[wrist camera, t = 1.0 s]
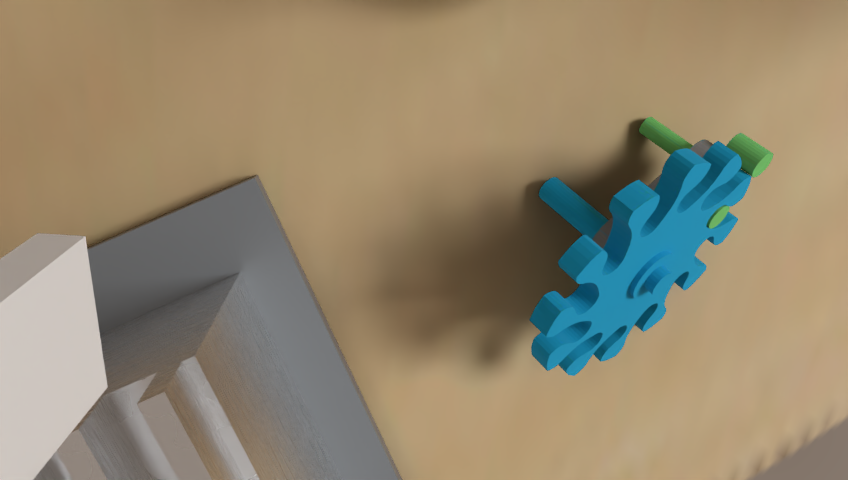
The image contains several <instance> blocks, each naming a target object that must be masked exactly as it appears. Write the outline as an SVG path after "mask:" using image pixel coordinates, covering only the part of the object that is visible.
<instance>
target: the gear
mask: <svg viewBox="0 0 848 480" xmlns="http://www.w3.org/2000/svg"><path fill="white" fill-rule="evenodd" d="M639 132H640V133H641V134H642V135H644V136H645V137H647V138H648V139H649V140H651V141H652V142H654V143H655V144H656V145H658V146H659V147H661V148H662V149H663V150H665V151H666V152H668V153H669V154H670V157H669V158H668V159H667V161H666V163H665V165H664V167H663V170H662V174H661V175H660V176H659V177H657V178H656V179H655V180H654V181H653V182H652V183H651V184H650V185H648V186H647V185H645V184H644V183H643V182H641V181H640V180H637V181H635V182H633V183H631V184H629V185H628V186H626V187H625V188H623V189H622V190H621V191H619V192H618V193H617V194H615V195H614V196H613V198H612V200H611V202H610V205H609V211H610V212H611V213H612V216H613V217H612V218H611V219H610V220H608V219H606V218H605V217H604V216H603V215H602V214H600V213H599V212H598V211H597V210H596V209H594V208H593V207H592V206H591V205H589V204H588V203H587V202H586V201H585V200H583V199H582V198H581V197H580V196H579V195H577V194H576V193H575V192H574V191H572V190H571V189H570V188H569V187H568V186H566V185H565V184H564V183H563V182H562V181H560V180H559V179H558V178H556V177H553V178H551V179H549V180H548V181H546V182H545V183H544V185H543V186H542V187H541V189H540V191H539V197H540V198H541V199H542V200H543V201H544V202H545V203H547V204H548V205H549V206H550V207H551V208H552V209H554V210H555V211H556V212H557V213H558V214H559V215H561V216H562V217H563V218H564V219H565V220H566V221H568V222H569V223H570V224H571V225H572V226H573V227H574V228H576V229H577V230H578V231H579V232H580V233H581V234H583V235H582V236H581V237H580V238H579V239H578V240H576V241H575V242H574V243H573V244H572V245H571V247H570V248H569V249H568V250H567V251H566V252H565V253H564V255H563V256H562V257H561V258H560V259H559V261H558V265H559V267H560V268H561V269H563V270H564V271H565V272H566V273H567V274H568V275H569V276H570V277H571V278H572V279H573V280H575V281H576V282H577V283H578V284H580V285H579V287H578V288H577V290H576V291H575V292H574V293H573V294H571V295H570V296H569V297H567V298H565V299H564V298H563V297H562V296H561V295H560V294H559V293H558V292H557V291H551V292H549V293H547V294H545V295H544V296H543V297H542V298H541V300H540V301H539V303H538V304H537V306H536V308H535V309H534V311H533V313H532V315H531V318H530V321H531V322H532V323H533V324H534V325H535V326H536V327H537V328H538V329H539V330H540V331H541V333H540V334H539V335H537V336H536V337H535V338H534V340H533V343H532V355H533V356H534V357H535V358H536V359H537V360H538V361H539V363H540V364H541V365H542V366H543V367H544V368H545V369H546V370H547V371H548V370H551V369H552V368H554V367H555V366H557V365H559V366H560V367H561V368H562V369H563V370H564V371H565V372H566V373H567V374H568V375H573V376H575V375H576V374H577V373H578V372H579V371H580V370H581V369H582V368H583V367H584V366H585V365H586V364H587V362H588V360H589V359H590V358H591V356H592V355H593V354H594V355H595V356H596V357H597V358H598V359H599V360H600V361H605V360H608V359H610V358H612V357H614V356H616V355H617V354H618V353H619V351H620V350H621V349H622V347H623V345H624V343H625V340H626V337H627V335H628V334H629V332H630V330H631V329H632V327H633V326H634V324H635V325H636V326H637V327H639V328H640V329H641V330H642V331H643V332H644V331H646V330H647V329H649V328H650V327H652V326H653V325H654V324H656V323H657V322H658V321H659V320H660V319H662V317H663V316H664V314H665V312H666V308H665V306H664V302H665V299H666V296H667V294H668V292H669V290H670V288H671V286H672V284H673V283H674V282H675V283H676V284H677V285H678V286H680V287H681V288H682V289H683V290H687V289H688V288H689V287H690V286H691V285H692V284H693V283H694V282H695V281H696V280H697V279H698V278H699V277H700V276H701V274H702V273H703V272H704V271H705V270H706V265H705V264H704V263H703V262H701V261H700V260H699V259H698V258H696V257H695V252H696V251H697V249H698V248H699V246H700V245H701V244H702V243H703V242H704V241H705V240H706V239H708V240H709V241H710V242H711V243H713V244H714V245H718V244H720V243H721V242H723V240H724V239H725V238H726V237H727V235H728V234H729V233H730V231H731V230H732V228H733V227H734V225H735V224H736V222H737V220H738V218H736V217H735V216H734V215H732V214H731V213H730V212H728V211H729V206H733V205H735V204H736V203H737V202H739V201H740V200H741V199H742V198H743V197H744V195H745V193H746V191H747V189H748V186H749V184H750V180H751V176H752V177H757V176H758V175H760V174H761V173H762V172H763V171H764V170H765V169H766V168H767V166H768V165H769V163H770V162H771V160H772V158H773V153H771V152H770V151H768V150H767V149H765V148H764V147H762V146H761V145H759V144H758V143H756V142H755V141H753V140H752V139H750V138H748V137H747V136H745V135H744V134H742V133H740V134H737V135H736V136H735V137H734V138H732V140H731V141H730V142H729V143H728V144H727V146H725V145H723V144H722V143H721V142H719V141H717V142H716V143H714V144H712V143H710V142H709V141H707V140H701V141H699V142H698V143H696V144H695V145H694V146H693V145H691V144H690V143H688V142H687V141H685V140H684V139H683V138H681V137H680V136H678V135H677V134H675V133H674V132H672V131H671V130H670V129H668V128H667V127H665V126H664V125H662V124H661V123H659V122H658V121H657V120H655V119H654V118H652V117H649V118H647V119H646V120H645V121H644V122H643V123H642V124H641V126H640V129H639ZM741 169H742V170H741ZM744 171H745V172H744ZM747 173H748V174H747ZM750 175H751V176H750Z"/></svg>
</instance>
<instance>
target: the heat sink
mask: <svg viewBox="0 0 848 480" xmlns="http://www.w3.org/2000/svg"><path fill="white" fill-rule="evenodd" d="M100 339H101V345H102V352H103V359H104V366H105V372H106V379H107V386H108V387H107V389H106V390H105V391H104V392H103V394H102V395H101V396H100V397H99V398H98V400H97V401H96V402H95V403H94V405H93V406H92V407H91V408H90V410H89V411H88V412H87V413H86V415H85V416H84V417H83V418H82V420H81V421H80V422H79V423H78V425H77V426H76V427H75V428H74V429H73V431H72V432H71V433H70V434H69V436H68V437H67V438H66V439H65V441H64V442H63V443H62V444H61V446H60V447H59V448H58V449H57V451H56V452H55V453H54V454H53V455H52V457H51V458H50V459H49V460H48V462H47V463H46V464H45V465H44V467H43V468H42V469H41V470H40V472H39V473H38V474H37V475H36V477H35V478H34V479H33V480H343V479H342V477H341V475H340V473H339V471H338V469H337V467H336V465H335V463H334V461H333V459H332V457H331V455H330V453H329V451H328V449H327V447H326V445H325V443H324V441H323V439H322V437H321V435H320V433H319V431H318V429H317V426H316V424H315V422H314V420H313V418H312V416H311V414H310V412H309V410H308V408H307V406H306V404H305V402H304V400H303V398H302V396H301V394H300V392H299V390H298V388H297V386H296V384H295V382H294V380H293V378H292V376H291V374H290V372H289V370H288V368H287V366H286V364H285V362H284V360H283V358H282V356H281V354H280V352H279V350H278V348H277V346H276V344H275V342H274V340H273V338H272V336H271V334H270V332H269V330H268V328H267V326H266V323H265V321H264V319H263V317H262V315H261V313H260V311H259V309H258V307H257V305H256V303H255V301H254V299H253V297H252V295H251V293H250V291H249V289H248V287H247V285H246V283H245V281H244V279H243V277H242V275H241V273H238V274H235V275H233V276H231V277H228V278H226V279H224V280H221V281H219V282H217V283H214V284H212V285H210V286H208V287H205V288H203V289H201V290H198V291H196V292H194V293H191V294H189V295H187V296H184V297H182V298H180V299H178V300H175V301H173V302H171V303H168V304H166V305H164V306H161V307H159V308H157V309H154V310H152V311H150V312H148V313H145V314H143V315H141V316H138V317H136V318H134V319H131V320H129V321H127V322H124V323H122V324H120V325H118V326H115V327H113V328H111V329H108V330H106V331H104V332H101V333H100Z"/></svg>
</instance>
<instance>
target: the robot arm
mask: <svg viewBox="0 0 848 480" xmlns="http://www.w3.org/2000/svg"><path fill="white" fill-rule="evenodd" d="M107 387H108V386H107V379H106V372H105V366H104V359H103V352H102V345H101V339H100V332H99V325H98V318H97V312H96V305H95V298H94V291H93V285H92V278H91V271H90V264H89V258H88V251H87V244H86V237H85V236H75V235H58V234H41V233H37V234H35V235H34V236H33V237H31V238H30V239H28V240H27V241H25V242H24V243H22V244H21V245H20V246H18V247H17V248H15V249H14V250H12V251H11V252H9V253H8V254H7V255H5V256H4V257H2V258H1V259H0V480H33V479H34V478H35V477H36V475H37V474H38V473H39V472H40V470H41V469H42V468H43V467H44V465H45V464H46V463H47V462H48V460H49V459H50V458H51V457H52V455H53V454H54V453H55V452H56V451H57V449H58V448H59V447H60V446H61V444H62V443H63V442H64V441H65V439H66V438H67V437H68V436H69V434H70V433H71V432H72V431H73V429H74V428H75V427H76V426H77V425H78V423H79V422H80V421H81V420H82V418H83V417H84V416H85V415H86V413H87V412H88V411H89V410H90V408H91V407H92V406H93V405H94V403H95V402H96V401H97V400H98V398H99V397H100V396H101V395H102V394H103V392H104V391H105V390H106V389H107Z"/></svg>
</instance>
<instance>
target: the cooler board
mask: <svg viewBox="0 0 848 480" xmlns="http://www.w3.org/2000/svg"><path fill="white" fill-rule="evenodd" d="M87 251H88V258H89V264H90V271H91V278H92V285H93V291H94V298H95V305H96V312H97V318H98V325H99V332H100V333H101V332H104V331H106V330H108V329H111V328H113V327H115V326H118V325H120V324H122V323H124V322H127V321H129V320H131V319H134V318H136V317H138V316H141V315H143V314H145V313H148V312H150V311H152V310H154V309H157V308H159V307H161V306H164V305H166V304H168V303H171V302H173V301H175V300H178V299H180V298H182V297H184V296H187V295H189V294H191V293H194V292H196V291H198V290H201V289H203V288H205V287H208V286H210V285H212V284H214V283H217V282H219V281H221V280H224V279H226V278H228V277H231V276H233V275H235V274H238V273H241V275H242V277H243V279H244V281H245V283H246V285H247V287H248V289H249V291H250V293H251V295H252V297H253V299H254V301H255V303H256V305H257V307H258V309H259V311H260V313H261V315H262V317H263V319H264V321H265V323H266V326H267V328H268V330H269V332H270V334H271V336H272V338H273V340H274V342H275V344H276V346H277V348H278V350H279V352H280V354H281V356H282V358H283V360H284V362H285V364H286V366H287V368H288V370H289V372H290V374H291V376H292V378H293V380H294V382H295V384H296V386H297V388H298V390H299V392H300V394H301V396H302V398H303V400H304V402H305V404H306V406H307V408H308V410H309V412H310V414H311V416H312V418H313V420H314V422H315V424H316V426H317V429H318V431H319V433H320V435H321V437H322V439H323V441H324V443H325V445H326V447H327V449H328V451H329V453H330V455H331V457H332V459H333V461H334V463H335V465H336V467H337V469H338V471H339V473H340V475H341V477H342V479H343V480H402V478H401V476H400V474H399V472H398V470H397V468H396V466H395V464H394V461H393V459H392V457H391V455H390V453H389V451H388V449H387V447H386V445H385V442H384V440H383V438H382V436H381V434H380V432H379V430H378V428H377V426H376V423H375V421H374V419H373V417H372V415H371V413H370V411H369V409H368V407H367V404H366V402H365V400H364V398H363V396H362V394H361V392H360V390H359V388H358V385H357V383H356V381H355V379H354V377H353V375H352V373H351V371H350V369H349V366H348V364H347V362H346V360H345V358H344V356H343V354H342V352H341V350H340V347H339V345H338V343H337V341H336V339H335V337H334V335H333V333H332V331H331V328H330V326H329V324H328V322H327V320H326V318H325V316H324V314H323V312H322V309H321V307H320V305H319V303H318V301H317V299H316V297H315V295H314V293H313V290H312V288H311V286H310V284H309V282H308V280H307V278H306V276H305V274H304V271H303V269H302V267H301V265H300V263H299V261H298V259H297V257H296V255H295V252H294V250H293V248H292V246H291V244H290V242H289V240H288V238H287V236H286V233H285V231H284V229H283V227H282V225H281V223H280V221H279V219H278V217H277V214H276V212H275V210H274V208H273V206H272V204H271V202H270V200H269V198H268V195H267V193H266V191H265V189H264V187H263V185H262V183H261V181H260V179H259V176H258V175H255V176H253V177H251V178H248V179H246V180H244V181H241V182H239V183H237V184H235V185H232V186H230V187H228V188H225V189H223V190H221V191H218V192H216V193H214V194H211V195H209V196H207V197H204V198H202V199H200V200H197V201H195V202H193V203H190V204H188V205H186V206H183V207H181V208H179V209H176V210H174V211H172V212H169V213H167V214H165V215H163V216H160V217H158V218H156V219H153V220H151V221H149V222H146V223H144V224H142V225H139V226H137V227H135V228H132V229H130V230H128V231H125V232H123V233H121V234H118V235H116V236H114V237H111V238H109V239H107V240H104V241H102V242H100V243H97V244H95V245H93V246H91V247H88V248H87Z"/></svg>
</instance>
